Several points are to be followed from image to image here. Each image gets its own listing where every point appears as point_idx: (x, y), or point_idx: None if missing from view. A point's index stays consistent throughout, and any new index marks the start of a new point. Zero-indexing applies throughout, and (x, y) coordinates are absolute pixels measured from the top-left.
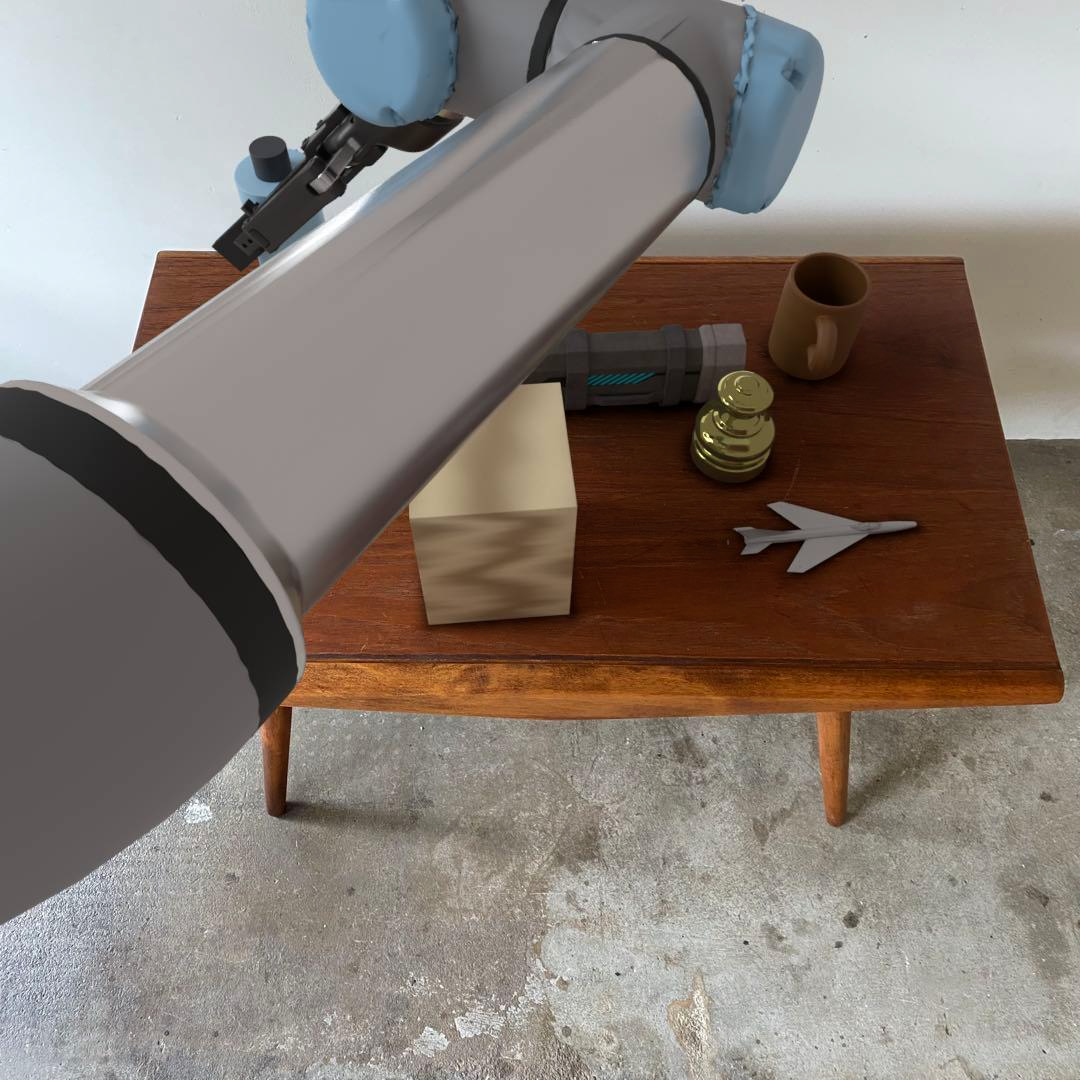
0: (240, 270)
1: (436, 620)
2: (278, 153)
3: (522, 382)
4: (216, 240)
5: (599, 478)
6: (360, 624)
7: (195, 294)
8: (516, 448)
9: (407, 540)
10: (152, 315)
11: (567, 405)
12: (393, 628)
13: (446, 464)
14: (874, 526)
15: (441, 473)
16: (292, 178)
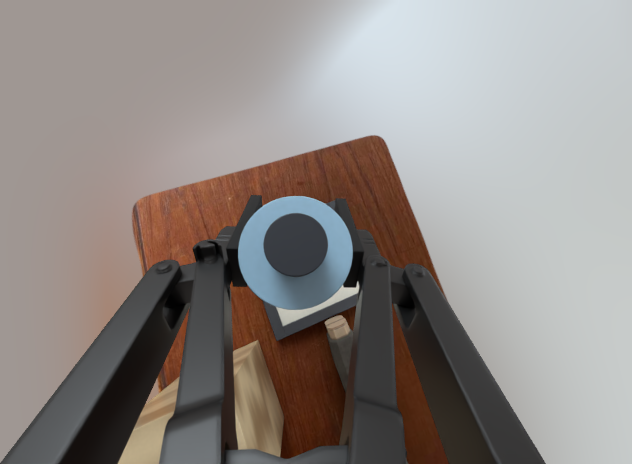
0: None
1: None
2: (283, 270)
3: (344, 388)
4: (258, 196)
5: (308, 440)
6: (177, 334)
7: (364, 156)
8: None
9: (235, 338)
10: (342, 143)
11: None
12: (178, 353)
13: (154, 458)
14: None
15: (142, 458)
16: (63, 431)
